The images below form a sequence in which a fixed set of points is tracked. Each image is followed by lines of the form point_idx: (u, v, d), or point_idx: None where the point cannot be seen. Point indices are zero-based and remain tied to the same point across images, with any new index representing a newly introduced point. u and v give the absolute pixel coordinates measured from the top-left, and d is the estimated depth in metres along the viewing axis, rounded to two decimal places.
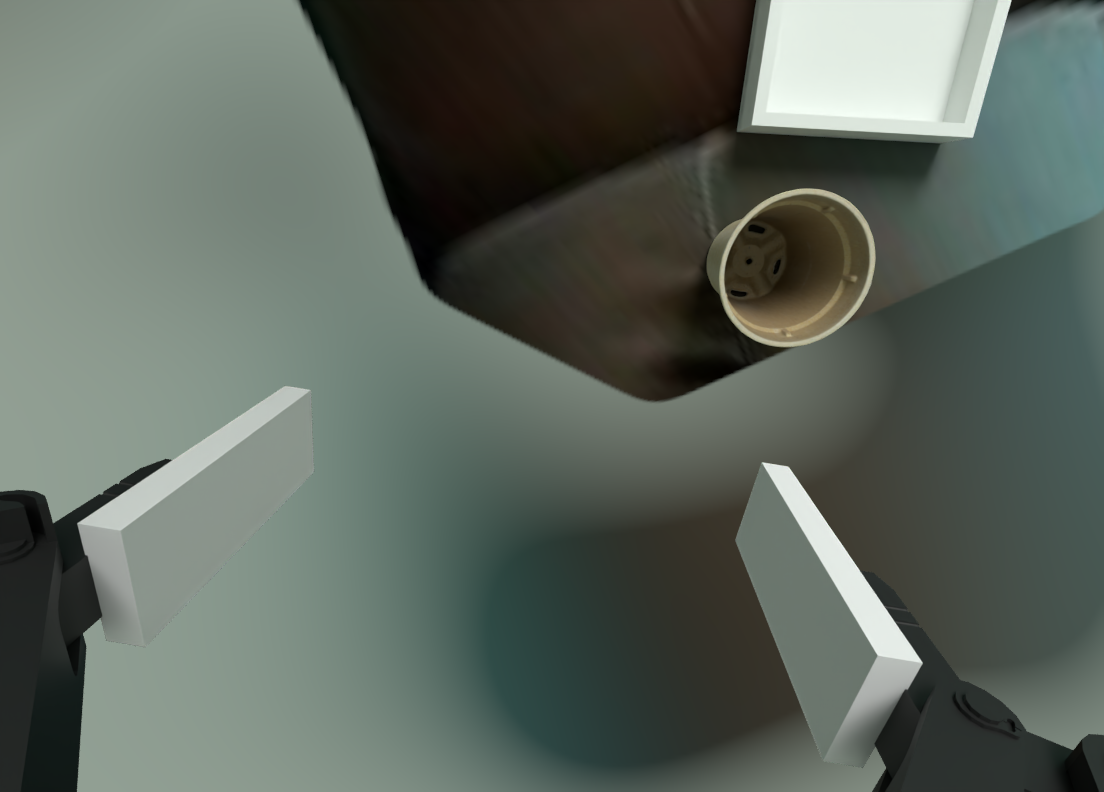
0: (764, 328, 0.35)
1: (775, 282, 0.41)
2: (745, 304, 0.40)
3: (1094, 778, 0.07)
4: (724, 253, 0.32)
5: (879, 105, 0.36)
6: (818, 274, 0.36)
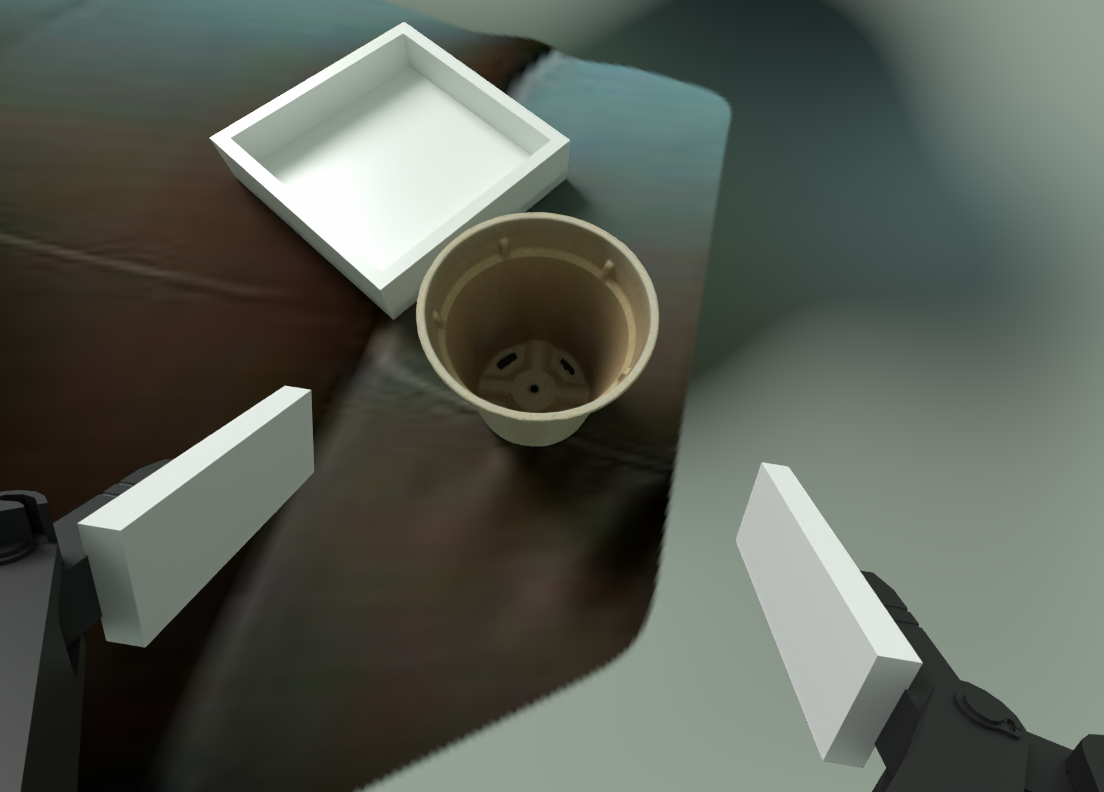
0: (599, 398, 0.21)
1: (585, 379, 0.29)
2: None
3: (1094, 778, 0.07)
4: (437, 370, 0.19)
5: None
6: (592, 316, 0.26)
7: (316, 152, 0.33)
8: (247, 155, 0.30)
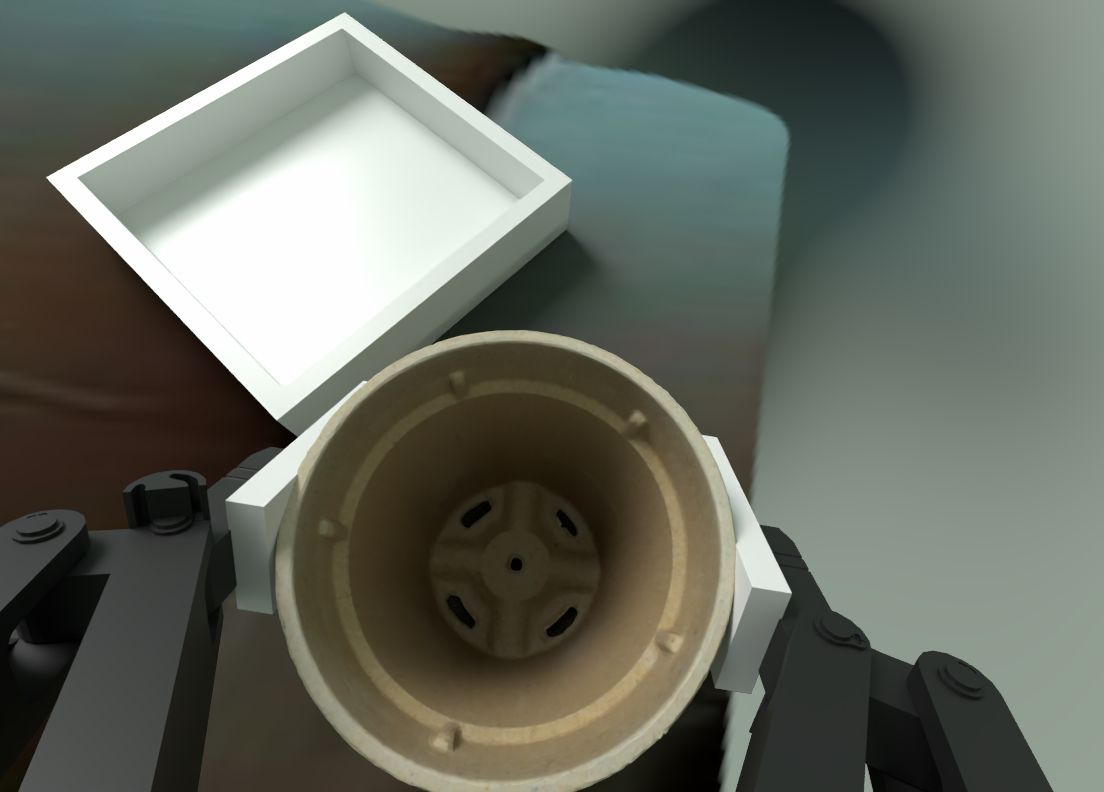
0: (622, 683, 0.12)
1: (593, 543, 0.19)
2: (585, 632, 0.17)
3: (928, 691, 0.08)
4: (304, 679, 0.10)
5: None
6: (607, 473, 0.16)
7: (216, 193, 0.23)
8: (98, 204, 0.20)
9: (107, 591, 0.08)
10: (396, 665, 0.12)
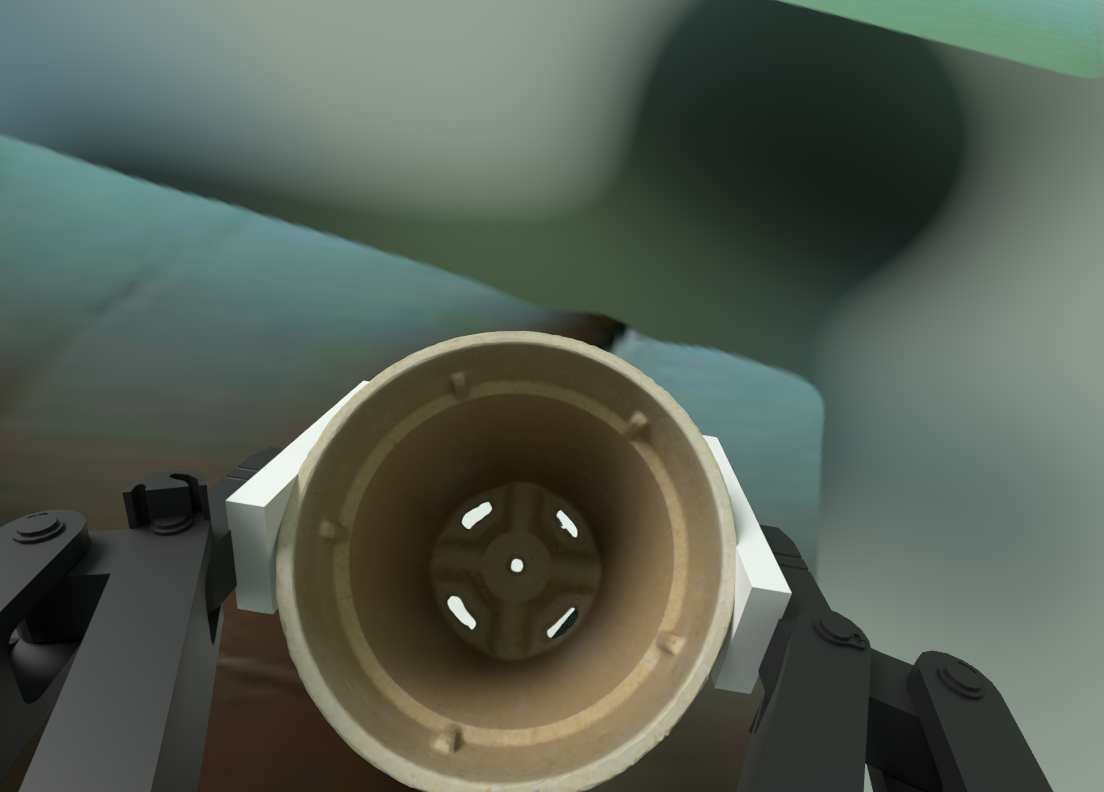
0: (623, 684, 0.11)
1: (594, 544, 0.19)
2: (586, 633, 0.17)
3: (928, 691, 0.08)
4: (305, 681, 0.10)
5: None
6: (608, 474, 0.16)
7: None
8: None
9: (107, 591, 0.08)
10: (396, 666, 0.12)
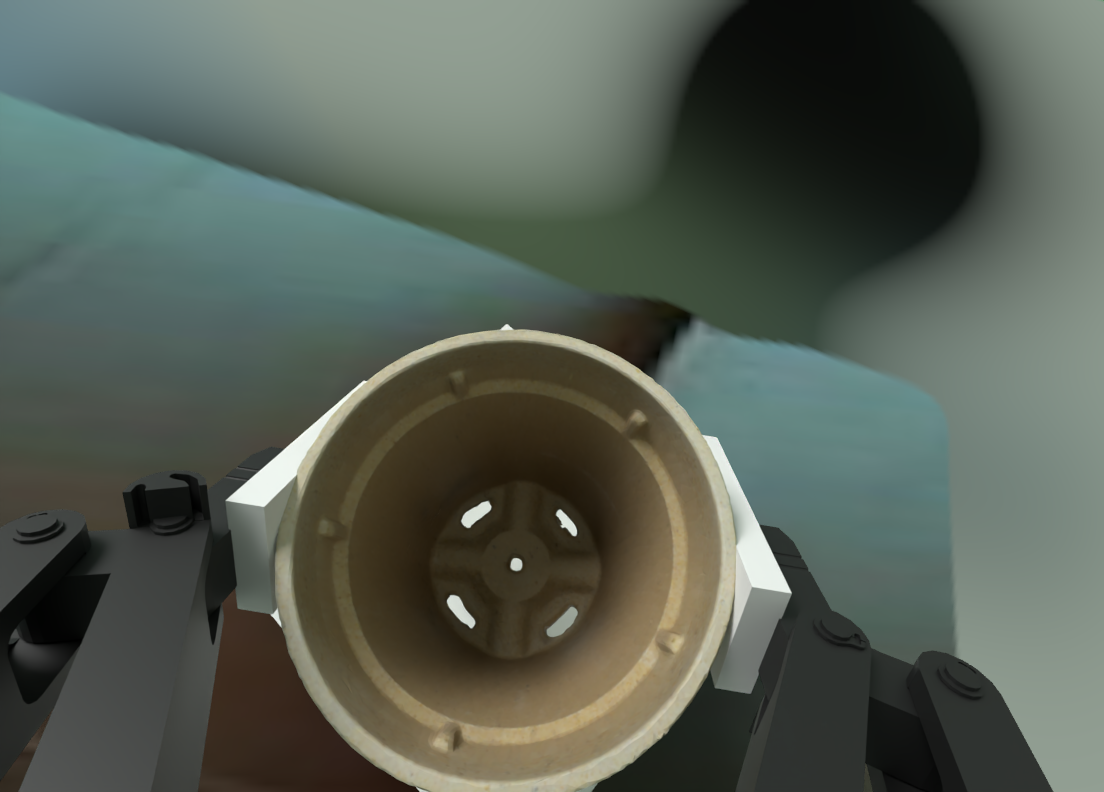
0: (622, 683, 0.11)
1: (593, 542, 0.19)
2: (585, 632, 0.17)
3: (929, 691, 0.08)
4: (304, 679, 0.10)
5: None
6: (607, 473, 0.16)
7: None
8: None
9: (107, 591, 0.08)
10: (396, 665, 0.12)
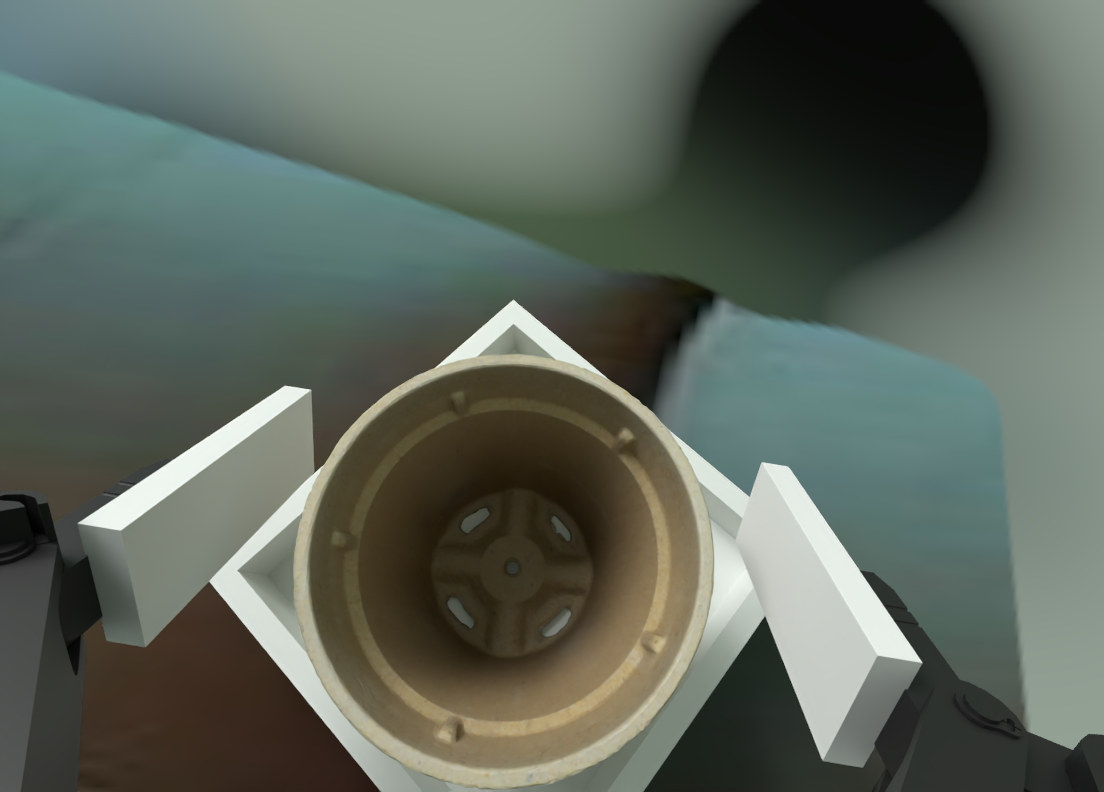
0: (610, 680, 0.13)
1: (586, 547, 0.20)
2: (578, 632, 0.18)
3: (1094, 778, 0.07)
4: (321, 678, 0.11)
5: None
6: (598, 483, 0.17)
7: None
8: (267, 612, 0.17)
9: None
10: (402, 664, 0.13)
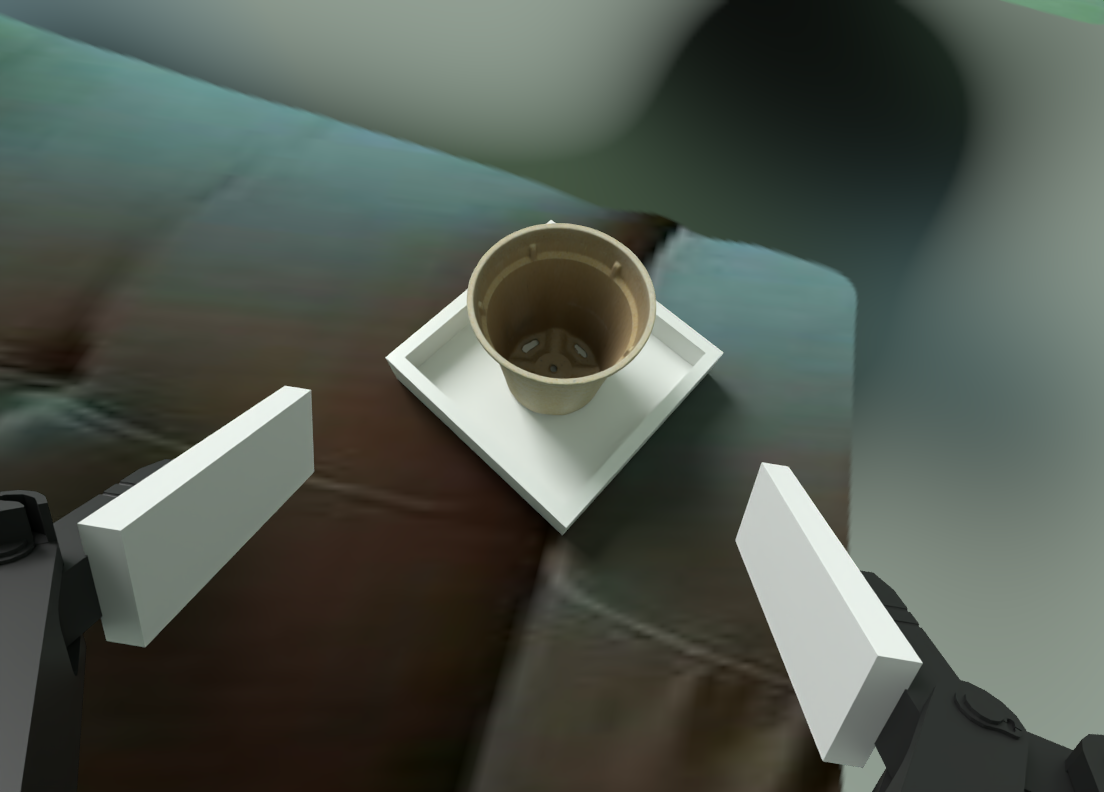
0: None
1: (595, 361, 0.34)
2: None
3: (1094, 778, 0.07)
4: (484, 345, 0.25)
5: (637, 403, 0.34)
6: (603, 307, 0.31)
7: (473, 354, 0.34)
8: (423, 377, 0.31)
9: None
10: None
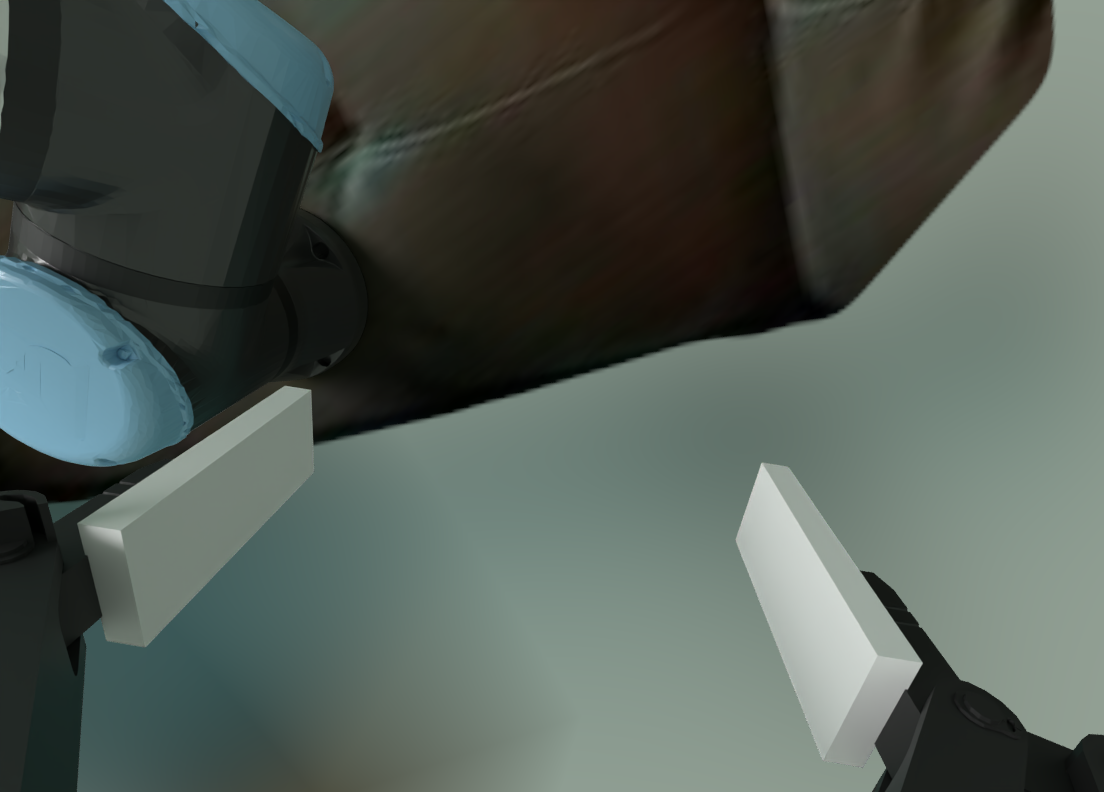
0: None
1: None
2: None
3: (1094, 778, 0.07)
4: None
5: None
6: None
7: None
8: None
9: None
10: None
